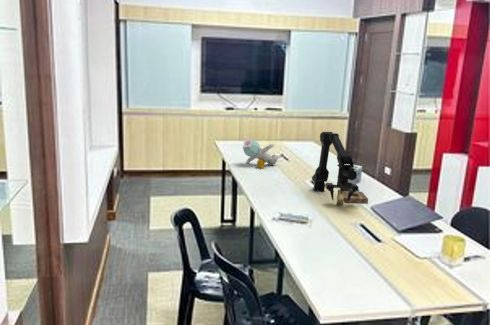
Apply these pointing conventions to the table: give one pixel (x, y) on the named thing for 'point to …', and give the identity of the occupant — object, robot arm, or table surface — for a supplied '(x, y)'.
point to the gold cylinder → (340, 198)
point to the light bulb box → (358, 172)
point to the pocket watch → (353, 182)
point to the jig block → (356, 197)
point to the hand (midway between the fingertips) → (340, 200)
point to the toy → (259, 153)
